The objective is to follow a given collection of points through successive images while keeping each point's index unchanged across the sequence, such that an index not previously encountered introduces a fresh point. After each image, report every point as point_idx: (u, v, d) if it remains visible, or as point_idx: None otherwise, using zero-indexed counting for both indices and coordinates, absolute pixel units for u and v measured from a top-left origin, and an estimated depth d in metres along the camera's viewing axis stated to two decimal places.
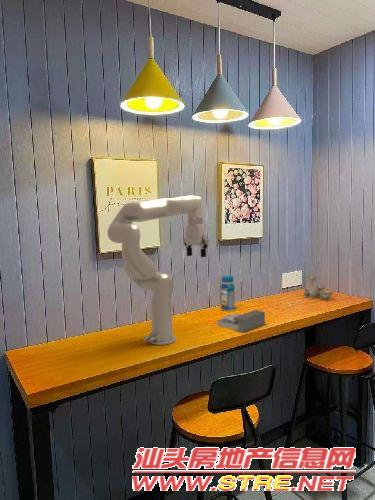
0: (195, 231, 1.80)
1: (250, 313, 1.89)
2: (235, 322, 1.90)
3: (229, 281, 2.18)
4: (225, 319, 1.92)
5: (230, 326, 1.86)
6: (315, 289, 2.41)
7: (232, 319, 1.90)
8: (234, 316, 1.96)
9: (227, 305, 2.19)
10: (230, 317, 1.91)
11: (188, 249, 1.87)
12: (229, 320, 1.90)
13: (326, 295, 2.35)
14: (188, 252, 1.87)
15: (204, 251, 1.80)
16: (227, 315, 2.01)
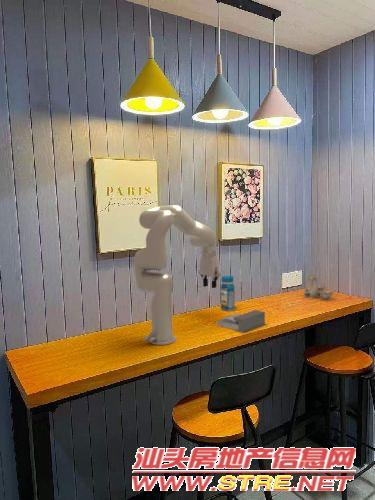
0: (209, 263, 2.00)
1: (250, 313, 1.89)
2: (236, 322, 1.90)
3: (229, 281, 2.18)
4: (226, 319, 1.91)
5: (230, 326, 1.86)
6: (315, 289, 2.41)
7: (233, 319, 1.89)
8: (235, 316, 1.96)
9: (227, 305, 2.19)
10: (231, 317, 1.91)
11: (204, 280, 2.06)
12: (230, 320, 1.90)
13: (326, 295, 2.35)
14: (204, 283, 2.06)
15: (215, 282, 2.01)
16: (228, 315, 2.01)
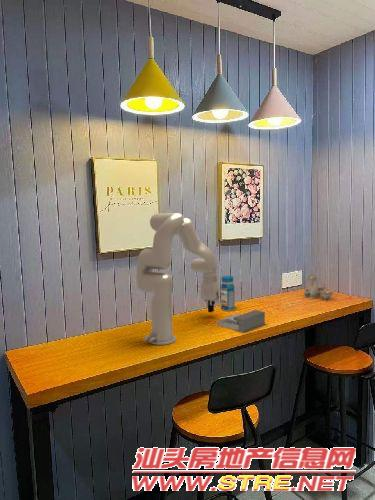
0: (210, 288, 2.01)
1: (250, 313, 1.89)
2: (237, 322, 1.89)
3: (229, 281, 2.18)
4: (227, 319, 1.91)
5: (230, 326, 1.86)
6: (315, 289, 2.41)
7: None
8: (236, 316, 1.95)
9: (227, 305, 2.19)
10: (232, 317, 1.90)
11: None
12: (231, 320, 1.89)
13: (326, 295, 2.35)
14: None
15: (212, 307, 2.05)
16: None
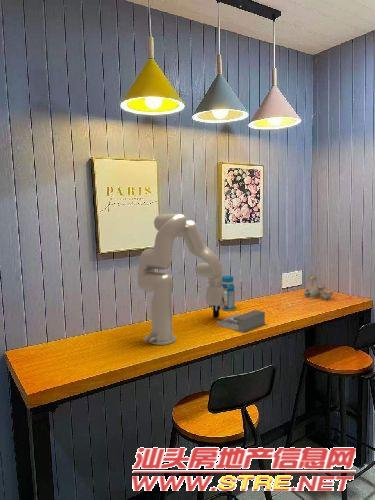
0: (215, 293, 1.98)
1: (250, 313, 1.89)
2: None
3: (229, 281, 2.18)
4: (228, 320, 1.91)
5: (230, 326, 1.86)
6: (315, 289, 2.41)
7: (235, 320, 1.89)
8: None
9: (227, 305, 2.19)
10: (233, 318, 1.90)
11: None
12: (232, 321, 1.89)
13: (326, 295, 2.35)
14: None
15: (217, 312, 2.02)
16: (230, 316, 2.00)
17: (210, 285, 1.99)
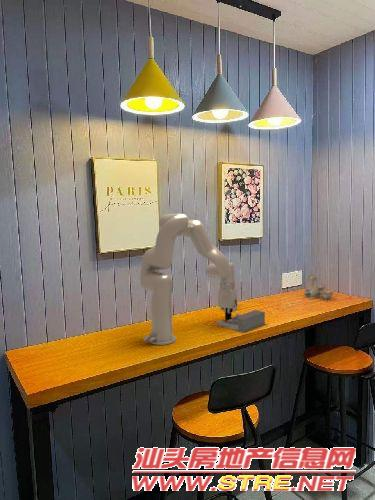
0: (228, 295, 1.92)
1: (250, 313, 1.89)
2: None
3: None
4: (232, 320, 1.89)
5: (230, 326, 1.86)
6: (316, 289, 2.41)
7: None
8: None
9: None
10: None
11: None
12: (236, 321, 1.87)
13: (327, 295, 2.35)
14: None
15: (230, 315, 1.96)
16: (235, 316, 1.98)
17: (222, 287, 1.93)
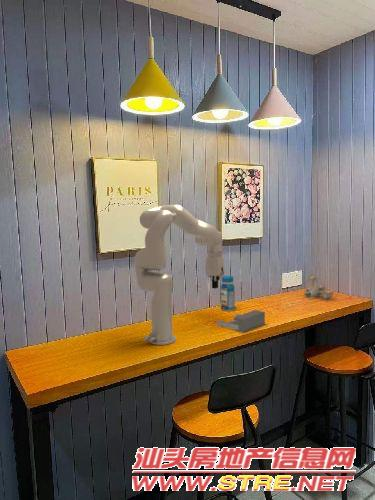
0: (215, 263, 1.96)
1: (250, 313, 1.89)
2: None
3: (229, 281, 2.18)
4: (235, 321, 1.88)
5: (230, 326, 1.86)
6: (316, 289, 2.41)
7: None
8: None
9: (227, 305, 2.19)
10: None
11: None
12: None
13: (327, 295, 2.35)
14: None
15: (216, 283, 2.00)
16: None
17: (209, 254, 1.97)
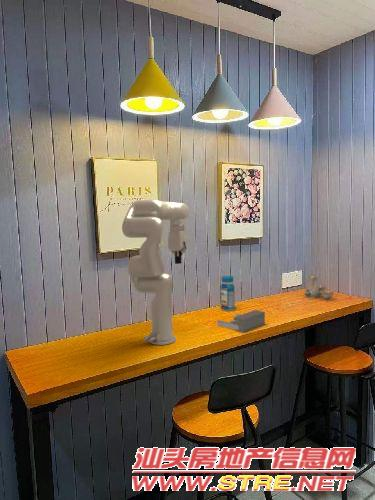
0: (176, 237, 1.91)
1: (250, 313, 1.89)
2: None
3: (229, 281, 2.18)
4: (235, 321, 1.88)
5: (230, 326, 1.86)
6: (316, 289, 2.41)
7: None
8: None
9: (227, 305, 2.19)
10: None
11: None
12: None
13: (327, 295, 2.35)
14: None
15: (179, 258, 1.95)
16: None
17: (171, 229, 1.92)
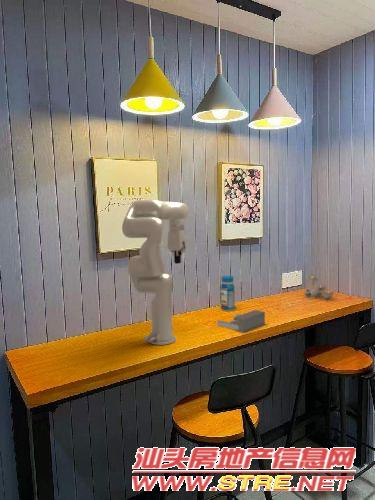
0: (176, 237, 1.91)
1: (250, 313, 1.89)
2: None
3: (229, 281, 2.18)
4: (236, 321, 1.88)
5: (230, 326, 1.86)
6: (316, 289, 2.41)
7: None
8: None
9: (227, 305, 2.19)
10: None
11: None
12: None
13: (327, 295, 2.35)
14: None
15: (179, 258, 1.95)
16: None
17: (170, 229, 1.92)
